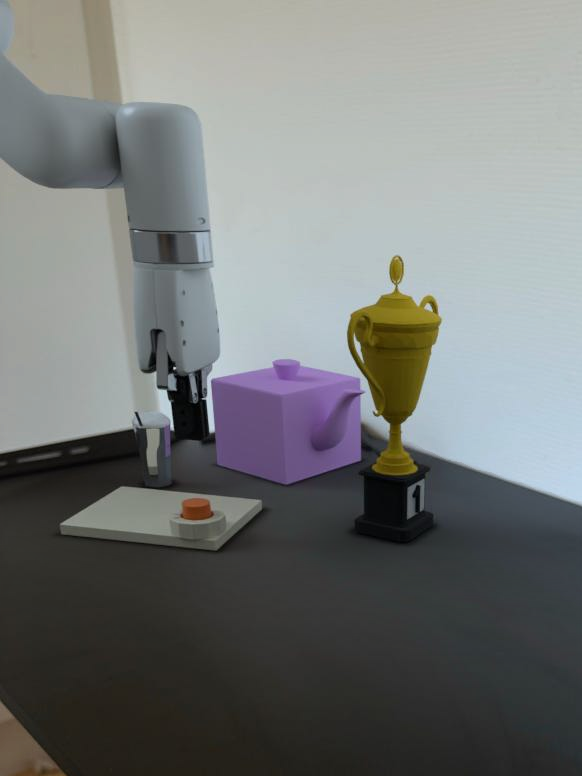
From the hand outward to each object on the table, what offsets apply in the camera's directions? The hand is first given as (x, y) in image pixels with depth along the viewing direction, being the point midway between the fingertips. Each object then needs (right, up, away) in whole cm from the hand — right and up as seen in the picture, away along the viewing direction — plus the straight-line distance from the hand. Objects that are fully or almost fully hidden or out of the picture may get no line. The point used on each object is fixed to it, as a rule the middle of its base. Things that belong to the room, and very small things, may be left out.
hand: (192, 437), depth 98 cm
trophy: (+20, -8, +12) cm, 25 cm away
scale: (-6, -8, +10) cm, 14 cm away
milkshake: (-11, -2, +21) cm, 24 cm away
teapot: (+5, +3, +32) cm, 33 cm away
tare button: (-1, -8, +4) cm, 9 cm away
